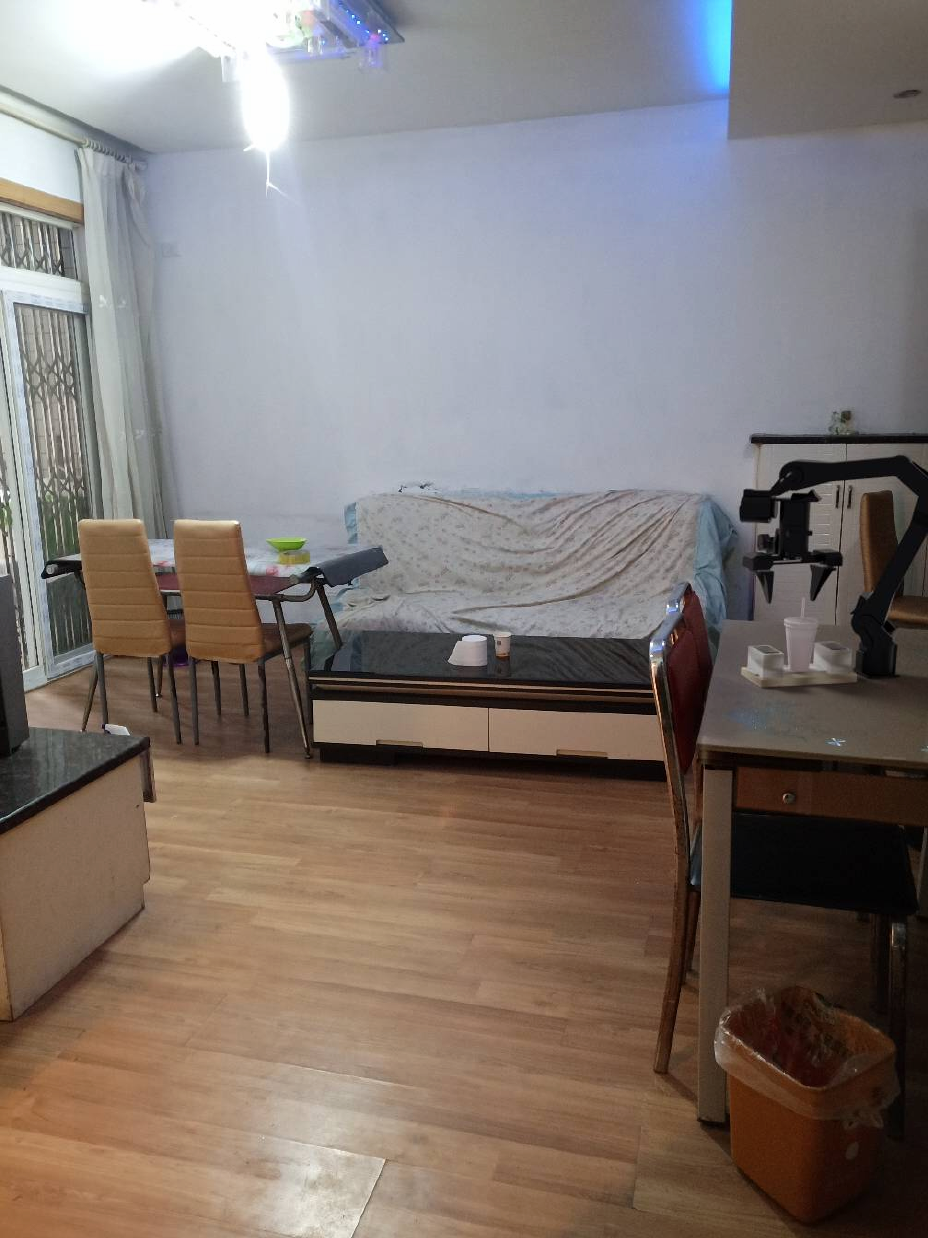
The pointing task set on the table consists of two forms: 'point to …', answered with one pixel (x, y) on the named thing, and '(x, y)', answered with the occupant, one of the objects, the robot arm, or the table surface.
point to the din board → (772, 672)
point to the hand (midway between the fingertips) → (790, 602)
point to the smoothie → (800, 640)
